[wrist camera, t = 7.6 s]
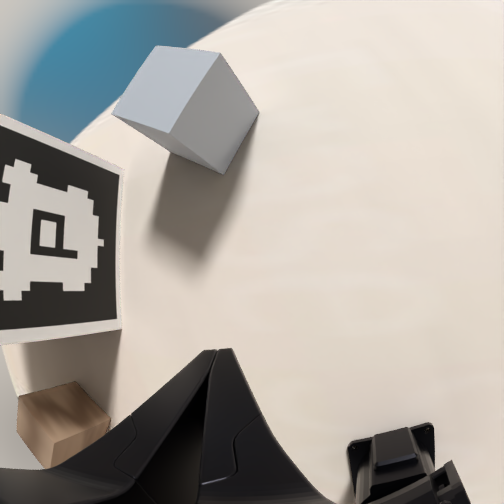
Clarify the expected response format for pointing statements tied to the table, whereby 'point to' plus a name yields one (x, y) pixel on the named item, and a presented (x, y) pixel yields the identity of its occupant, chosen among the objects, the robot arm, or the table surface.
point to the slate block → (189, 105)
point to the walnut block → (59, 422)
